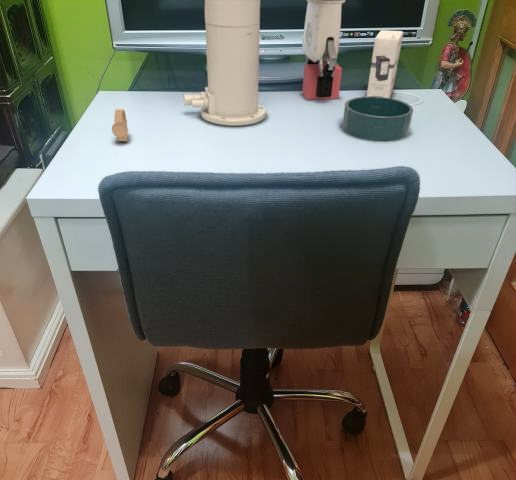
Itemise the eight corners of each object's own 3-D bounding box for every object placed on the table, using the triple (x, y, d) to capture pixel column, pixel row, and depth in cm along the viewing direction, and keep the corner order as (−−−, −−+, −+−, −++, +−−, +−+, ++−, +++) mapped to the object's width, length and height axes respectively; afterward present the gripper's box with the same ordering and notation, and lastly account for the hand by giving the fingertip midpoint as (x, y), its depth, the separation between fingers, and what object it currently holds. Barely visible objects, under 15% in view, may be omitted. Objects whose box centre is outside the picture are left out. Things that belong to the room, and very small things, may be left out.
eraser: (307, 99, 108) (309, 69, 104) (302, 94, 111) (304, 64, 107) (338, 98, 109) (342, 68, 105) (332, 92, 112) (336, 63, 108)
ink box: (371, 89, 115) (380, 28, 107) (393, 91, 114) (404, 30, 106) (365, 99, 109) (374, 36, 101) (388, 102, 108) (400, 38, 100)
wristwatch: (114, 145, 86) (109, 114, 83) (117, 135, 90) (113, 105, 86) (130, 145, 86) (125, 114, 83) (133, 135, 90) (129, 105, 87)
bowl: (355, 142, 90) (358, 119, 87) (333, 119, 99) (336, 97, 96) (419, 139, 92) (424, 115, 89) (392, 116, 101) (396, 95, 98)
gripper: (295, -15, 103) (290, 80, 114) (321, -1, 90) (311, 104, 102) (331, -15, 104) (321, 79, 116) (361, -1, 91) (347, 102, 103)
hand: (317, 90), depth 109 cm, fingers open, 8 cm apart
